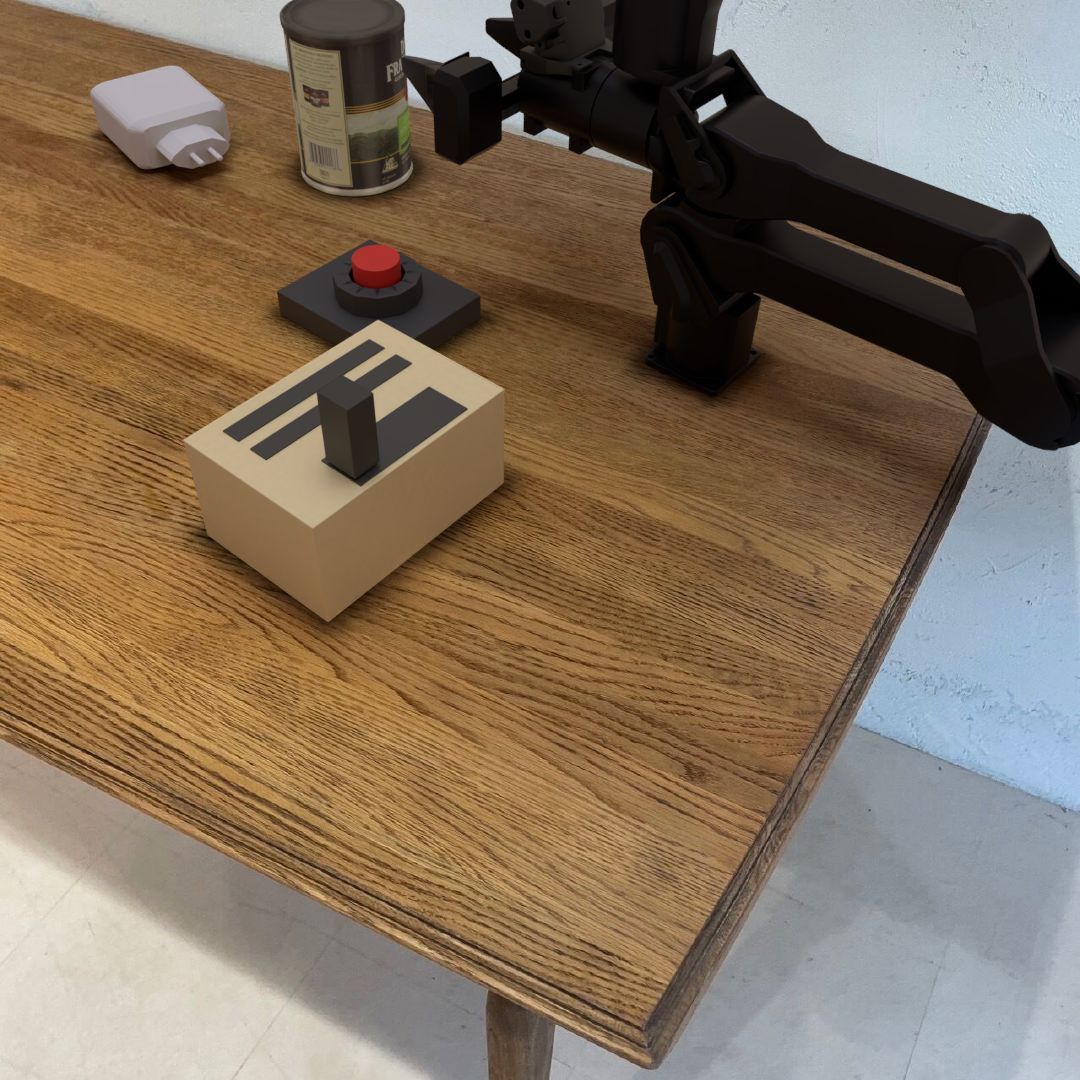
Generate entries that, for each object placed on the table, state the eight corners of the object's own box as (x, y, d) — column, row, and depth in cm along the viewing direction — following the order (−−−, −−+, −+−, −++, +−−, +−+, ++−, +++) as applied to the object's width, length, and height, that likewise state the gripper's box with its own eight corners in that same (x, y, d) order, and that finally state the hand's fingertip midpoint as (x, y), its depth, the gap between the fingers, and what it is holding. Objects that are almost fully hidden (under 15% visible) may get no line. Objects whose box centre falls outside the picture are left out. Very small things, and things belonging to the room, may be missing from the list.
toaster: (504, 483, 76) (505, 387, 70) (328, 623, 67) (312, 527, 62) (386, 413, 81) (377, 317, 75) (207, 535, 72) (181, 438, 66)
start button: (411, 276, 86) (410, 256, 85) (377, 296, 84) (375, 276, 83) (377, 258, 88) (375, 238, 87) (343, 278, 86) (341, 258, 85)
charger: (168, 202, 100) (100, 134, 108) (263, 173, 104) (191, 110, 112) (156, 151, 96) (87, 85, 104) (255, 123, 100) (181, 61, 108)
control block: (481, 318, 89) (480, 274, 86) (390, 378, 84) (387, 333, 81) (372, 262, 94) (368, 218, 91) (280, 314, 89) (272, 270, 86)
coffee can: (418, 144, 108) (410, -11, 98) (407, 200, 101) (397, 39, 91) (309, 140, 108) (290, -15, 98) (291, 195, 101) (268, 34, 91)
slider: (380, 461, 65) (373, 392, 61) (355, 479, 64) (346, 410, 60) (350, 443, 66) (342, 374, 62) (325, 460, 65) (315, 391, 61)
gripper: (704, -53, 78) (527, -106, 84) (530, 29, 67) (344, -38, 74) (685, 105, 86) (525, 46, 92) (527, 200, 75) (359, 126, 82)
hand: (446, 43), depth 85 cm, fingers open, 9 cm apart
